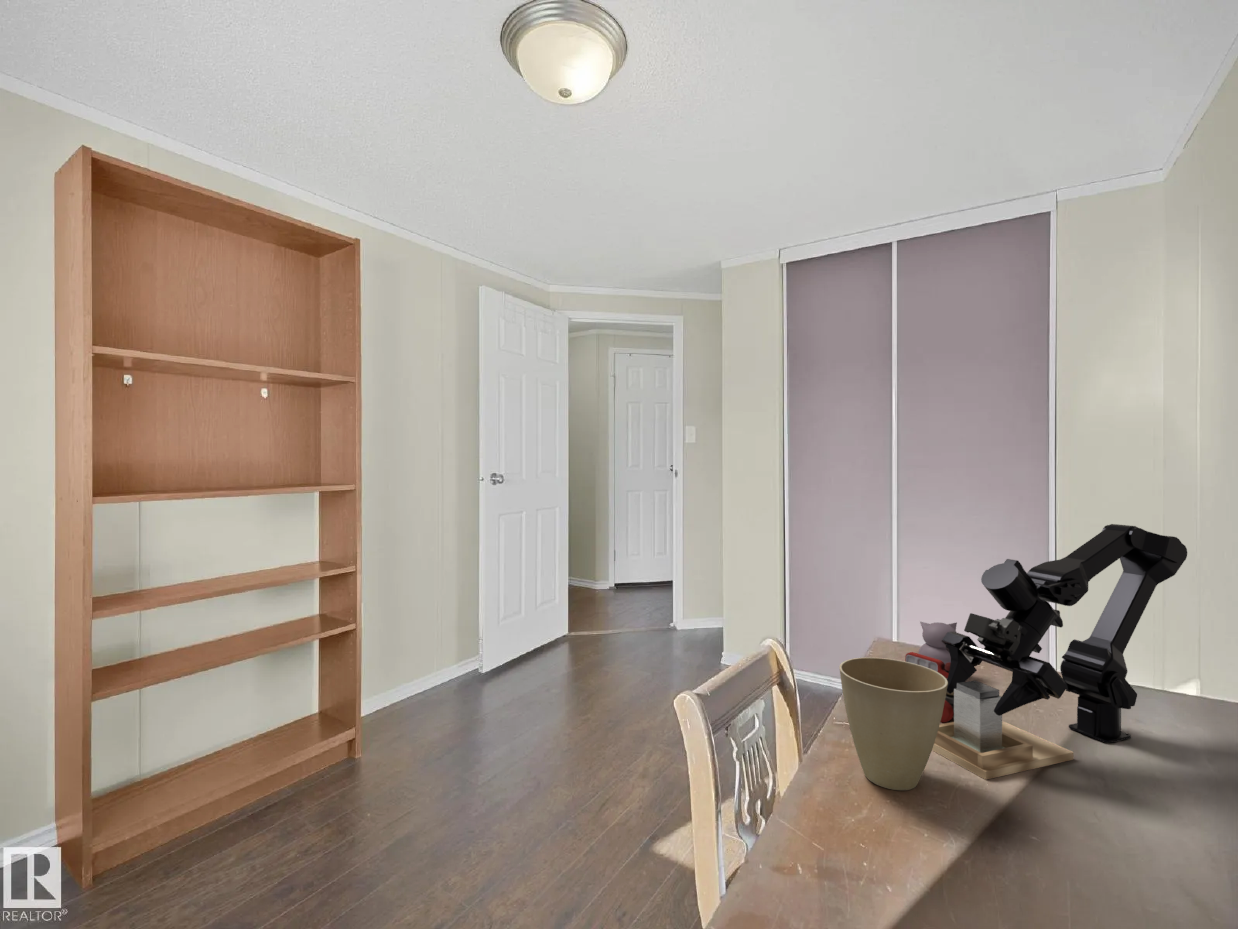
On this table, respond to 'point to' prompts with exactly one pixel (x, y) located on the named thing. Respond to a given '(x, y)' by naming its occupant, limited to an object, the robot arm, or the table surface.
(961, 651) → the robot arm
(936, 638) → the cat figurine
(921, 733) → the plant pot
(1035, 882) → the table surface
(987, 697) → the grey lidded container
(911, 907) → the table surface
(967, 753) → the wooden tray
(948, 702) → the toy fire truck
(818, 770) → the table surface
